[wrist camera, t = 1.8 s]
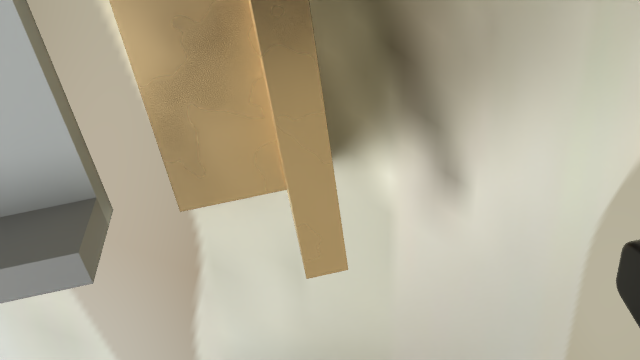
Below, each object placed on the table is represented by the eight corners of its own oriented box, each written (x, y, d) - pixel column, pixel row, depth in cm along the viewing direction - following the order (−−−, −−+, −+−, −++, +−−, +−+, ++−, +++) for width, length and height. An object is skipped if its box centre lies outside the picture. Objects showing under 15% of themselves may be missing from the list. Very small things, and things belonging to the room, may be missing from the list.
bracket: (314, 166, 21) (347, 269, 16) (181, 193, 20) (171, 308, 15) (276, -63, 16) (305, -23, 11) (108, -33, 16) (60, 22, 11)
